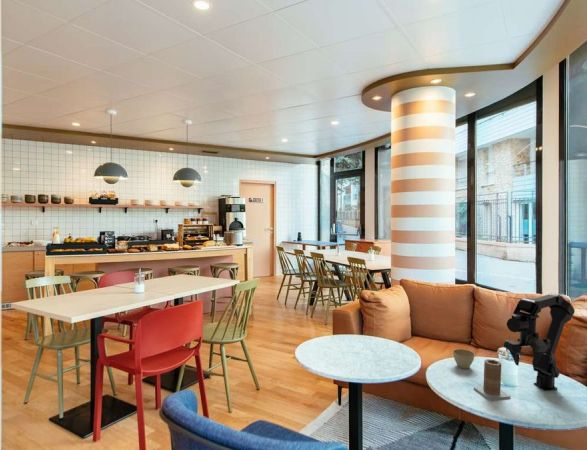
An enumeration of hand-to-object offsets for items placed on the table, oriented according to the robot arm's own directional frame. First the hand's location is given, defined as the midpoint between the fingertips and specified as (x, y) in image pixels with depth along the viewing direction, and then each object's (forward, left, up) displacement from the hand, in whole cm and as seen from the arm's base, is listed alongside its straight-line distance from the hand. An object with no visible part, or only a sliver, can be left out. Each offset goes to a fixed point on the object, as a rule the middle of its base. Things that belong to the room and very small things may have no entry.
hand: (526, 364), depth 167 cm
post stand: (+14, -3, -13) cm, 19 cm away
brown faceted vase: (+14, -3, -12) cm, 19 cm away
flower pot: (+9, -30, -13) cm, 34 cm away
